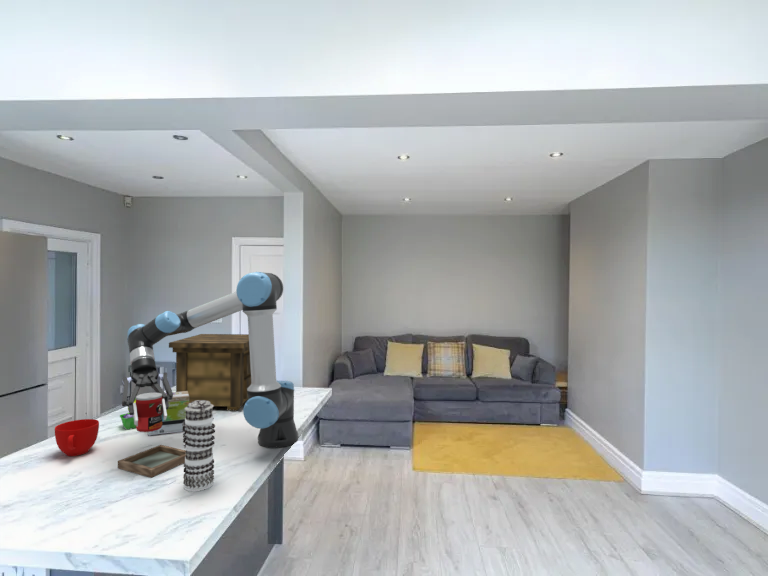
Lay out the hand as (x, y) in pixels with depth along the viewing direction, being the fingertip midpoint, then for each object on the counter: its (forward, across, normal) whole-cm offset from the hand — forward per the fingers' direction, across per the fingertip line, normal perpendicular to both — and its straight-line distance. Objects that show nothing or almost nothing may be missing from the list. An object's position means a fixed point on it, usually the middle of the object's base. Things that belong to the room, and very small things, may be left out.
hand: (151, 420), depth 142 cm
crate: (-37, -41, -60) cm, 82 cm away
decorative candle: (+26, -10, +2) cm, 28 cm away
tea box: (-16, -12, -39) cm, 44 cm away
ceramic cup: (-9, +19, -32) cm, 39 cm away
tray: (+8, -2, -15) cm, 17 cm away
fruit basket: (-26, -2, -49) cm, 55 cm away
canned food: (0, 0, -5) cm, 5 cm away
